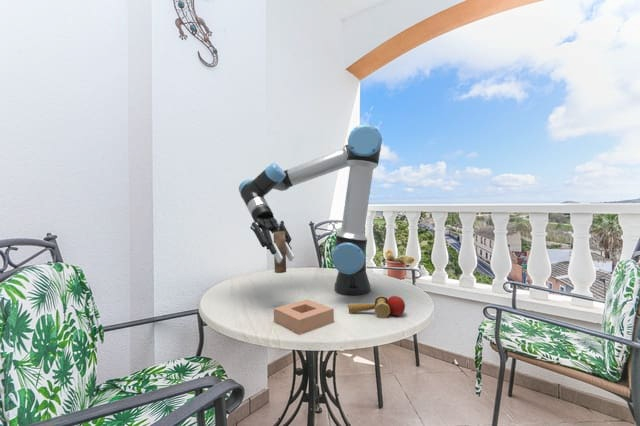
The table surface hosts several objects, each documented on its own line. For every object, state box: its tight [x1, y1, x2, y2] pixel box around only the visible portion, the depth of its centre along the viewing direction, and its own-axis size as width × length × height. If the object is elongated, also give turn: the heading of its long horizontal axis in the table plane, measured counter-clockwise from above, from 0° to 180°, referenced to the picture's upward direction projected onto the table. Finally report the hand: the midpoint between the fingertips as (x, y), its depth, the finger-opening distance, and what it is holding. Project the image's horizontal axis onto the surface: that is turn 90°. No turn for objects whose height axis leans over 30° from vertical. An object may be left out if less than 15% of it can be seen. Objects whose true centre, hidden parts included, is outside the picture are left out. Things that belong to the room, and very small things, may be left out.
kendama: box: [347, 295, 406, 318], centre depth 94 cm, size 8×6×18 cm
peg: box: [273, 231, 287, 274], centre depth 101 cm, size 4×4×14 cm
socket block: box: [273, 299, 335, 335], centre depth 88 cm, size 13×13×4 cm
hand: (286, 259), depth 98 cm, fingers closed on peg, 4 cm apart
